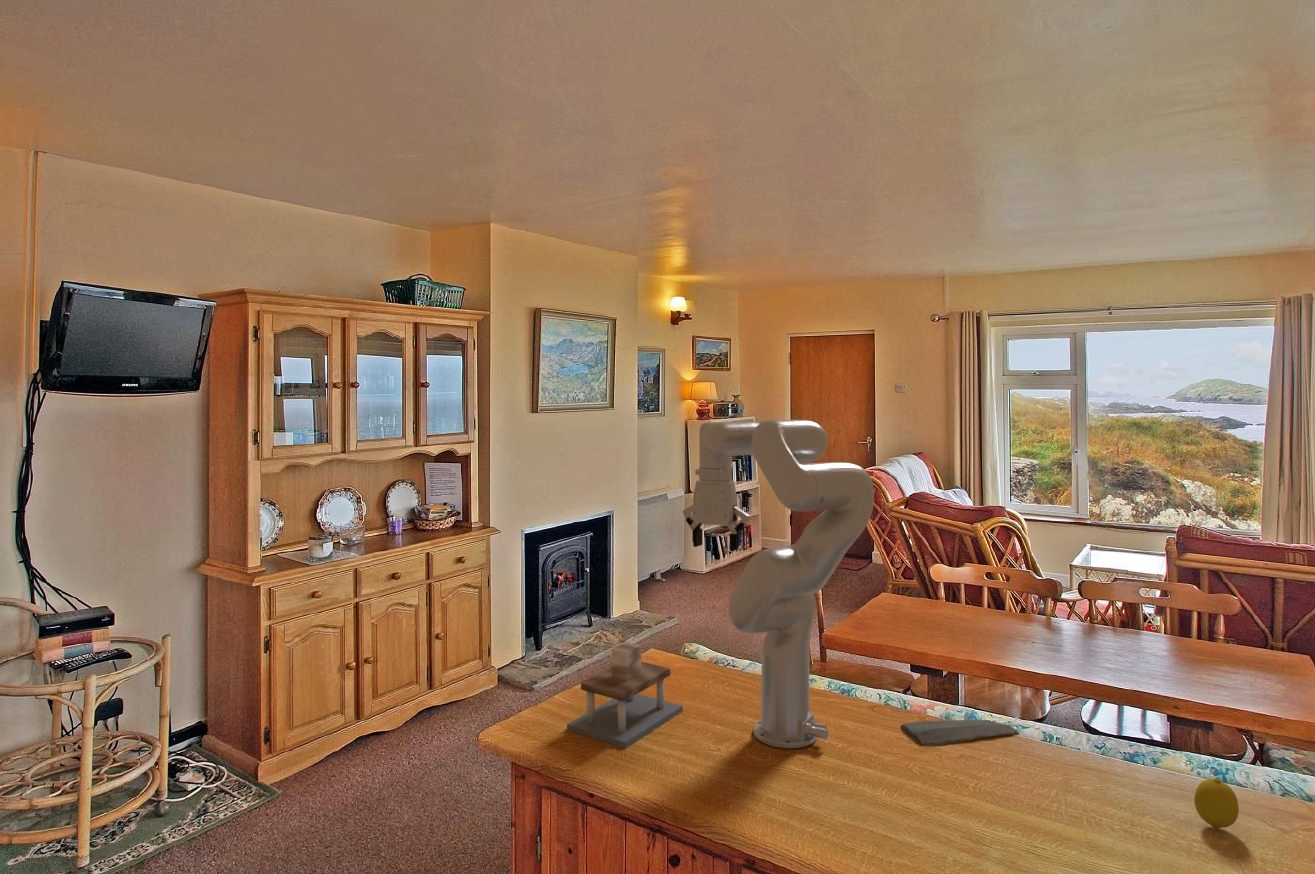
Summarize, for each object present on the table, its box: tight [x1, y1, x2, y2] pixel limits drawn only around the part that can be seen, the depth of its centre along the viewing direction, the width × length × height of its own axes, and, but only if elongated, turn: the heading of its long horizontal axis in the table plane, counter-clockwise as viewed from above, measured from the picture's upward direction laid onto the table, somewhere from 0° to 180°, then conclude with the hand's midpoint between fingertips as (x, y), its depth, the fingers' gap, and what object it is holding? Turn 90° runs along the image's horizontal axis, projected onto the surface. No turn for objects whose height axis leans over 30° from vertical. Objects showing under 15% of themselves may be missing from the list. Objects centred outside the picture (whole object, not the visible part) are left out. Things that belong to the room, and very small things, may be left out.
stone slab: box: [900, 719, 1020, 747], centre depth 151 cm, size 22×3×10 cm
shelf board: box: [580, 642, 671, 701], centre depth 156 cm, size 17×11×8 cm, turn 146°
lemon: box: [1193, 777, 1240, 830], centre depth 116 cm, size 6×6×8 cm
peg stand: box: [566, 679, 684, 749], centre depth 157 cm, size 15×21×8 cm
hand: (715, 548), depth 173 cm, fingers open, 9 cm apart
